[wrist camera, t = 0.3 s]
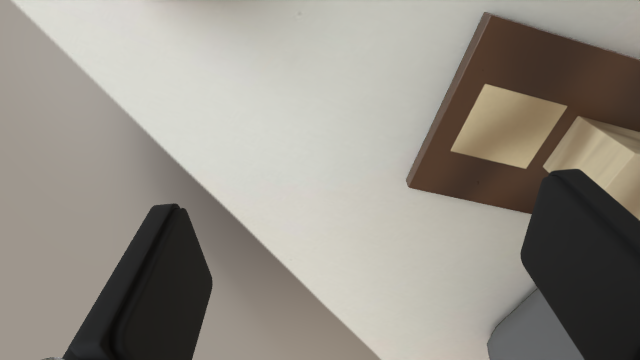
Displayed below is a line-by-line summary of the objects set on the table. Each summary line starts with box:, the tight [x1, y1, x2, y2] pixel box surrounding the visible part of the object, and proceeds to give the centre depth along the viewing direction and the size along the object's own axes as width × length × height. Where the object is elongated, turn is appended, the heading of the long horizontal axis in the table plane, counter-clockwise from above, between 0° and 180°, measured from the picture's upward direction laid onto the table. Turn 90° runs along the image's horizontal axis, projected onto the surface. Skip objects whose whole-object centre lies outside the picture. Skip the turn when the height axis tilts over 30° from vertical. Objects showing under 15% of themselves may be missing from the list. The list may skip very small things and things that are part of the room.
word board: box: [406, 12, 640, 214], centre depth 25 cm, size 22×12×1 cm, turn 75°
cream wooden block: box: [543, 116, 640, 220], centre depth 23 cm, size 5×4×5 cm
